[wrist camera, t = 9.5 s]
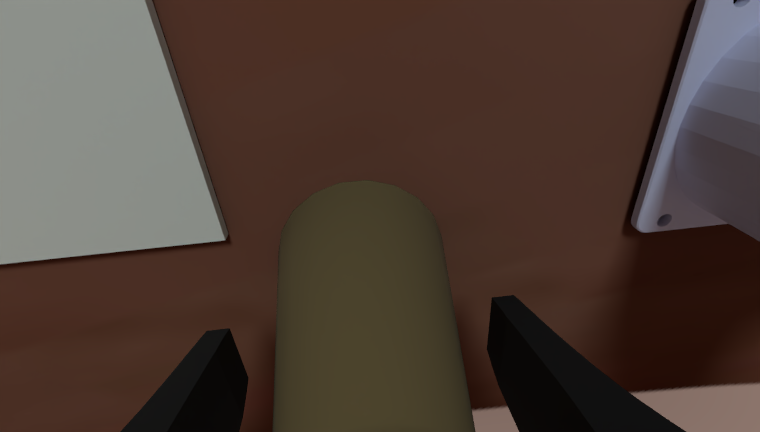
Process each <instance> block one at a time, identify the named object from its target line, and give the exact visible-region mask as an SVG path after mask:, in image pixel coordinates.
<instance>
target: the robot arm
mask: <svg viewBox="0 0 760 432" xmlns="http://www.w3.org/2000/svg"><path fill="white" fill-rule="evenodd" d="M733 1H734V0H697V1H696V5H695V8H694V11H693V15H692V18H691V21H690V25H689V28H688V31H687V35H686V38H685V41H684V45H683V48H682V51H681V55H680V58H679V61H678V65H677V68H676V71H675V75H674V78H673V81H672V85H671V88H670V91H669V95H668V98H667V101H666V105H665V108H664V111H663V115H662V118H661V121H660V125H659V128H658V131H657V135H656V138H655V141H654V145H653V148H652V151H651V154H650V158H649V161H648V164H647V168H646V171H645V174H644V178H643V181H642V184H641V188H640V191H639V194H638V198H637V201H636V204H635V208H634V211H633V214H632V218H631V224H632V226H633V227H634V228H636V229H637V230H638V231H640V232H642V233H649V232H658V231H667V230H676V229H685V228H695V227H704V226H713V225H722V224H730V225H732V226H734V227H735V228H737V229H739V230H741V231H742V232H744V233H746V234H748V235H749V236H751V237H753V238H755V239H756V240H758V241H760V0H737V1H736V2H735V3H733ZM662 215H663V216H662ZM661 216H662V218H660V217H661ZM659 218H660V219H659ZM658 219H659V220H658ZM487 351H488V354H489V357H490V360H491V364H492V367H493V370H494V373H495V376H496V379H497V382H498V385H499V387H500V390H501V392H502V394H503V396H504V399H505V401H506V403H507V405H508V408H509V410H510V412H511V414H512V417H513V419H514V421H515V423H516V425H517V427H518V430H519V432H686V431H684V430H683V429H681V428H680V427H678V426H677V425H675V424H674V423H672V422H670V421H669V420H667V419H666V418H665V417H663V416H662V415H660V414H659V413H657V412H656V411H654V410H653V409H652V408H650V407H649V406H647V405H646V404H644V403H643V402H641V401H640V400H639V399H637V398H636V397H634V396H633V395H632V394H630V393H629V392H627V391H626V390H625V389H623V388H622V387H621V386H619V385H618V384H617V383H616V382H614V381H613V380H612V379H610V378H609V377H608V376H607V375H605V374H604V373H603V372H601V371H600V370H599V369H598V368H596V367H595V366H594V365H593V364H591V363H590V362H589V361H588V360H586V359H585V358H584V357H583V356H582V355H581V354H579V353H578V352H577V351H576V350H575V349H573V348H572V347H571V346H570V345H569V344H568V343H566V342H565V341H564V340H563V339H562V338H561V337H559V336H558V335H557V334H556V333H555V332H554V331H553V330H552V329H550V328H549V327H548V326H547V325H546V324H545V323H544V322H543V321H542V320H540V319H539V318H538V317H537V316H536V315H535V314H534V313H533V312H532V311H531V310H530V309H528V308H527V307H526V306H525V305H524V304H523V303H522V302H521V301H520V300H519V299H517V298H516V297H515V296H514V295H511V296H502V297H494V298H492V303H491V313H490V323H489V333H488V344H487ZM247 385H248V376H247V373H246V371H245V368H244V365H243V363H242V360H241V357H240V355H239V352H238V350H237V347H236V344H235V342H234V339H233V336H232V334H231V331H230V329H220V330H212V331H206V333H205V334H204V335H203V336H202V337H201V338H200V340H199V341H198V342H197V343H196V344H195V346H194V347H193V348H192V349H191V350H190V352H189V353H188V354H187V355H186V356H185V358H184V359H183V360H182V361H181V362H180V364H179V365H178V366H177V367H176V369H175V370H174V371H173V372H172V373H171V375H170V376H169V377H168V378H167V379H166V381H165V382H164V383H163V384H162V385H161V386H160V388H159V389H158V390H157V391H156V392H155V393H154V395H153V396H152V397H151V398H150V399H149V400H148V402H147V403H146V404H145V405H144V406H143V407H142V409H141V410H140V411H139V412H138V413H137V414H136V415H135V416H134V418H133V419H132V420H131V421H130V422H129V423H128V424H127V425H126V426H125V427H124V428H123V430H122V431H121V432H239V430H240V426H241V422H242V418H243V412H244V406H245V400H246V392H247Z"/></svg>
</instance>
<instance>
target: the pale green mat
mask: <svg viewBox="0 0 760 432" xmlns="http://www.w3.org/2000/svg"><path fill="white" fill-rule="evenodd" d="M227 236H228V231H227V228H226V225H225V222H224V219H223V216H222V213H221V209H220V206H219V203H218V200H217V197H216V194H215V191H214V188H213V185H212V182H211V179H210V176H209V173H208V170H207V167H206V164H205V160H204V157H203V154H202V151H201V148H200V145H199V142H198V139H197V136H196V133H195V130H194V127H193V124H192V121H191V118H190V115H189V111H188V108H187V105H186V102H185V99H184V96H183V93H182V90H181V87H180V84H179V81H178V78H177V75H176V72H175V69H174V66H173V62H172V59H171V56H170V53H169V50H168V47H167V44H166V41H165V38H164V35H163V32H162V29H161V26H160V23H159V20H158V17H157V13H156V10H155V7H154V4H153V1H152V0H0V264H8V263H18V262H27V261H36V260H46V259H55V258H65V257H74V256H83V255H93V254H102V253H111V252H121V251H130V250H140V249H149V248H158V247H168V246H177V245H187V244H196V243H205V242H215V241H224V240H226V238H227Z"/></svg>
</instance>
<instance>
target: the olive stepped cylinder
mask: <svg viewBox="0 0 760 432" xmlns="http://www.w3.org/2000/svg"><path fill="white" fill-rule="evenodd" d="M273 432H475V427H474V421H473V415H472V410H471V404H470V398H469V392H468V387H467V381H466V375H465V369H464V364H463V358H462V352H461V346H460V340H459V335H458V329H457V323H456V317H455V312H454V306H453V300H452V294H451V289H450V283H449V277H448V271H447V266H446V260H445V254H444V248H443V243H442V237H441V234H440V231H439V228H438V226H437V223H436V221H435V218H434V216H433V214H432V213H431V212H430V211H429V210H428V209H427V208H426V207H425V205H424V204H423V203H422V202H421V201H420V200H419V199H418V198H417V197H415V196H413V195H411V194H410V193H408V192H406V191H404V190H402V189H400V188H398V187H397V186H395V185H390V184H385V183H379V182H374V181H369V180H364V181H354V182H344V183H338V184H335V185H333V186H331V187H328V188H326V189H323V190H321V191H319V192H316V193H314V194H312V195H311V196H310V197H309V198H308V199H306V200H305V201H304V202H303V203H302V204H301V205H299V206H298V207H297V208H296V209H295V210H293V212H292V214H291V216H290V217H289V219H288V221H287V223H286V224H285V226H284V228H283V230H282V232H281V239H280V246H279V255H278V285H277V315H276V345H275V375H274V404H273Z"/></svg>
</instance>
